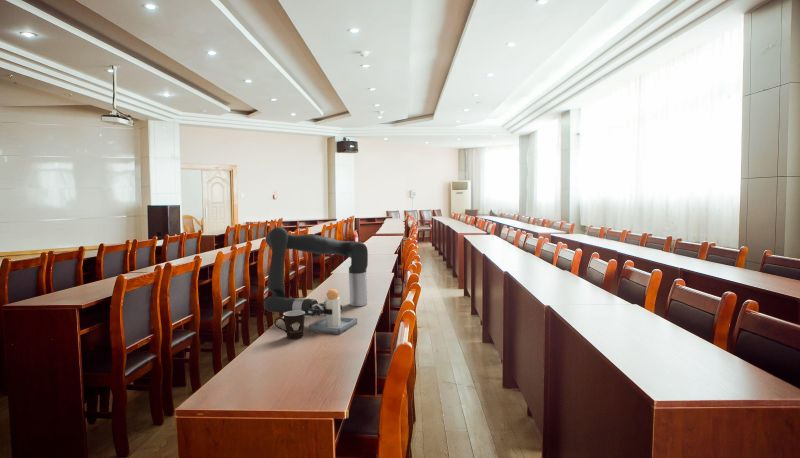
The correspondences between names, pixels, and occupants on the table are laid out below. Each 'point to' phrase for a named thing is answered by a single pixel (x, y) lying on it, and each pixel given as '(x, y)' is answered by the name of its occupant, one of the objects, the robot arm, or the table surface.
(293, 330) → the coffee mug
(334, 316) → the white hexagonal prism
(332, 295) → the ball
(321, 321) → the tray
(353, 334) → the table surface
